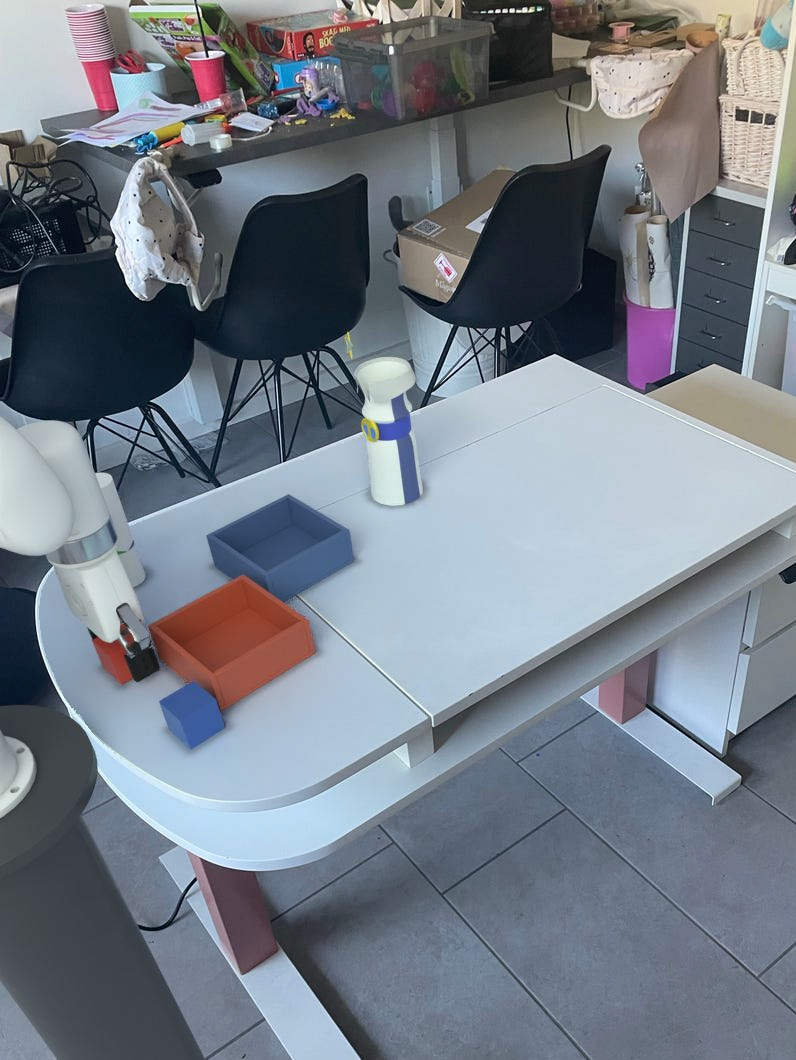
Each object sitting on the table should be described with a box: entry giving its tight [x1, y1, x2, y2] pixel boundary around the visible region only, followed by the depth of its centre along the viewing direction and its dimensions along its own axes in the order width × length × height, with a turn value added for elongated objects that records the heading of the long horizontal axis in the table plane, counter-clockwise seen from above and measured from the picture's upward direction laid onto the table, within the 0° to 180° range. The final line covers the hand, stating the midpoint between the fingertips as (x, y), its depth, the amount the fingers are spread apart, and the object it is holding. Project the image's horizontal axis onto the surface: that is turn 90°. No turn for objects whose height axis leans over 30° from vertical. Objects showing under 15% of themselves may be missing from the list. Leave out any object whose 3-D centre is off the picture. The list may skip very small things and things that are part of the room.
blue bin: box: [205, 493, 355, 603], centre depth 125 cm, size 13×13×5 cm
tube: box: [95, 472, 147, 588], centre depth 120 cm, size 4×4×15 cm
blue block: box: [158, 681, 226, 750], centre depth 102 cm, size 4×4×4 cm
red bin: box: [147, 575, 317, 712], centre depth 111 cm, size 13×13×5 cm
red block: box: [91, 623, 135, 686], centre depth 110 cm, size 4×4×4 cm
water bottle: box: [344, 331, 424, 507], centre depth 130 cm, size 8×9×25 cm
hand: (127, 656), depth 111 cm, fingers open, 8 cm apart
